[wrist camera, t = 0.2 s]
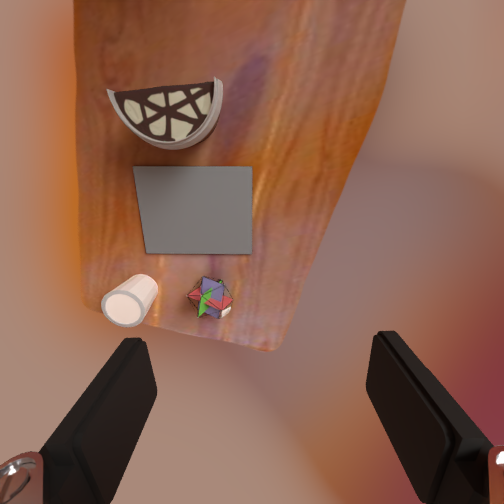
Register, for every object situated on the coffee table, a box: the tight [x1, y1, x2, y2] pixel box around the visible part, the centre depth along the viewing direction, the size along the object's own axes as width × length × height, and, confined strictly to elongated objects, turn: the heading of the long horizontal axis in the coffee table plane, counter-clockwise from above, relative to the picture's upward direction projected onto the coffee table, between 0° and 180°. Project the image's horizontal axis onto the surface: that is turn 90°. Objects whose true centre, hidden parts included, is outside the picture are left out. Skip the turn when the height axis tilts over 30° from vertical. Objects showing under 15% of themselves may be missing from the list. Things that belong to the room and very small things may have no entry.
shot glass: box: [101, 274, 158, 327], centre depth 41 cm, size 7×7×7 cm
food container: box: [107, 77, 223, 150], centre depth 30 cm, size 12×6×10 cm, turn 95°
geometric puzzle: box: [186, 276, 234, 319], centre depth 41 cm, size 7×7×8 cm
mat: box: [133, 166, 252, 254], centre depth 39 cm, size 14×18×1 cm
